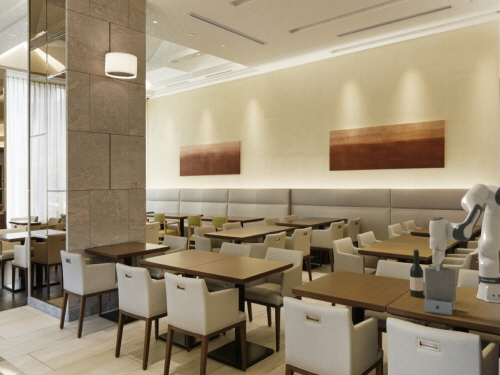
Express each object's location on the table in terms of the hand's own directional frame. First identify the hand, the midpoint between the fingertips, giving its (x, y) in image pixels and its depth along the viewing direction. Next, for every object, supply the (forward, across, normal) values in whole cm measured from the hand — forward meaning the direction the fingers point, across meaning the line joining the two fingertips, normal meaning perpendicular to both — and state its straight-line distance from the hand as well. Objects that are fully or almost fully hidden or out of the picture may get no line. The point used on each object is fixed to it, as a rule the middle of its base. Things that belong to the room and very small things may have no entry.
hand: (438, 269), depth 230 cm
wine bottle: (+23, +26, +17) cm, 39 cm away
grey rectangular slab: (+17, 0, 0) cm, 17 cm away
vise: (+23, 0, 0) cm, 23 cm away
